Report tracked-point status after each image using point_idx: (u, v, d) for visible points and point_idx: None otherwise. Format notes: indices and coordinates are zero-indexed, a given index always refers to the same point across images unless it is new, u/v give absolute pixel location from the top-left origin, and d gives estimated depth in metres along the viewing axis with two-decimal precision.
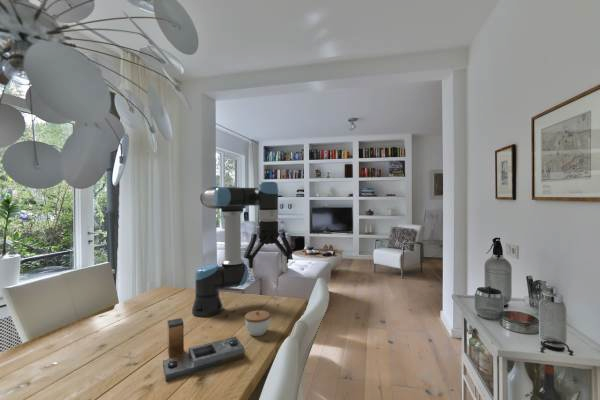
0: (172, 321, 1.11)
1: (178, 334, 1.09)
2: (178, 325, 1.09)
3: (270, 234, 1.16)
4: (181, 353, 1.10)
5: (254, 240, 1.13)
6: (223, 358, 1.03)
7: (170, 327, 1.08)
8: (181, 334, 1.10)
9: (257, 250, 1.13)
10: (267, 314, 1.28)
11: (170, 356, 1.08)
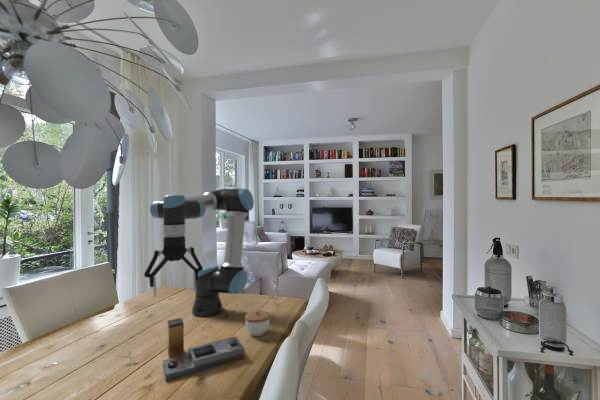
0: (172, 321, 1.11)
1: (178, 334, 1.09)
2: (178, 325, 1.09)
3: (175, 250, 1.10)
4: (181, 353, 1.10)
5: (155, 257, 1.07)
6: (223, 358, 1.03)
7: (170, 327, 1.08)
8: (181, 334, 1.10)
9: (159, 268, 1.07)
10: (267, 314, 1.28)
11: (170, 356, 1.08)
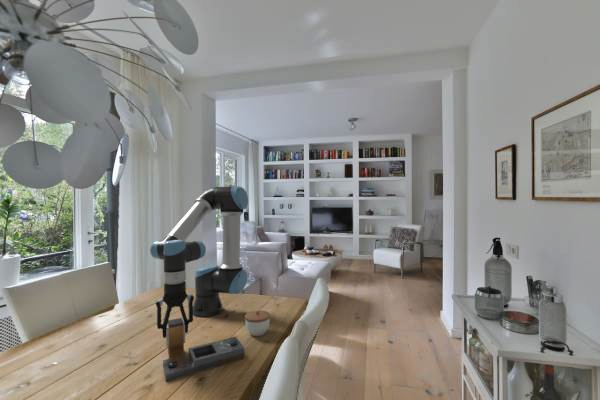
0: (172, 321, 1.11)
1: (178, 334, 1.09)
2: (178, 325, 1.09)
3: None
4: (181, 353, 1.10)
5: (159, 308, 1.07)
6: (223, 358, 1.03)
7: (170, 327, 1.08)
8: (181, 334, 1.10)
9: (167, 317, 1.08)
10: (267, 314, 1.28)
11: (170, 356, 1.08)
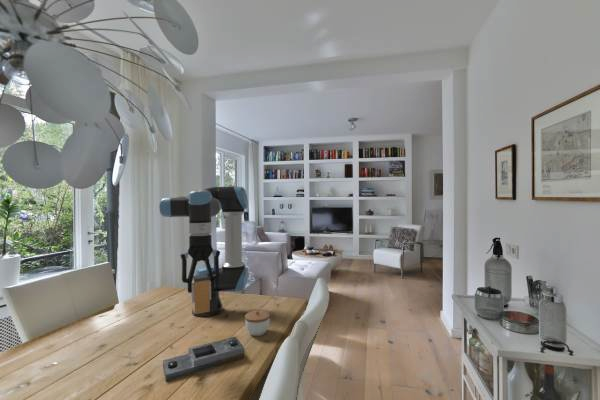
0: (197, 276, 1.05)
1: (204, 289, 1.03)
2: (204, 280, 1.03)
3: (203, 246, 1.04)
4: (207, 310, 1.03)
5: (184, 261, 1.01)
6: (223, 358, 1.03)
7: (196, 281, 1.02)
8: (207, 290, 1.03)
9: (192, 271, 1.02)
10: (267, 314, 1.28)
11: (196, 312, 1.01)
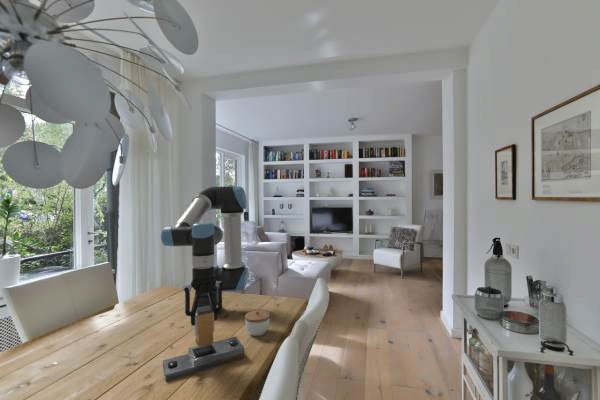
0: (200, 308, 1.05)
1: (207, 322, 1.03)
2: (207, 312, 1.03)
3: (206, 278, 1.04)
4: (210, 342, 1.03)
5: (188, 294, 1.01)
6: (223, 358, 1.03)
7: (199, 314, 1.01)
8: (210, 322, 1.03)
9: (196, 304, 1.02)
10: (267, 314, 1.28)
11: (199, 345, 1.01)
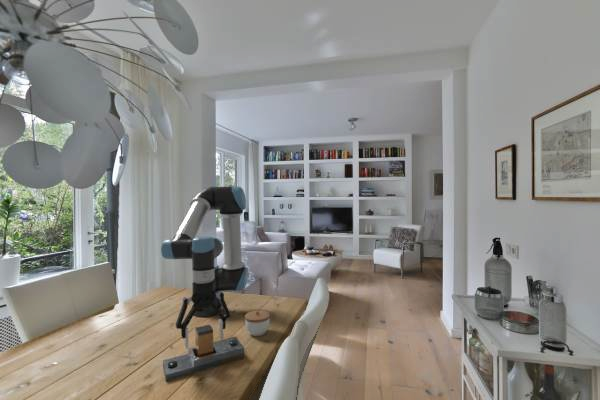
0: (201, 328, 1.05)
1: (207, 342, 1.03)
2: (208, 332, 1.03)
3: (205, 295, 1.04)
4: None
5: (185, 306, 1.00)
6: (223, 358, 1.03)
7: (199, 335, 1.01)
8: (211, 342, 1.03)
9: (190, 317, 1.01)
10: (267, 314, 1.28)
11: None
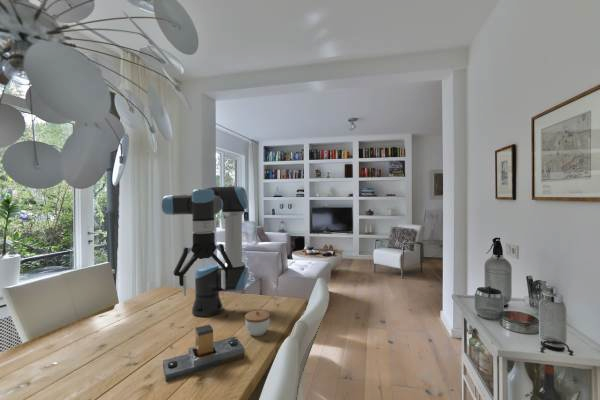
0: (201, 328, 1.05)
1: (207, 342, 1.03)
2: (208, 332, 1.03)
3: (205, 247, 1.05)
4: None
5: (185, 255, 1.01)
6: (223, 358, 1.03)
7: (199, 335, 1.01)
8: (211, 342, 1.03)
9: (188, 266, 1.02)
10: (267, 314, 1.28)
11: None
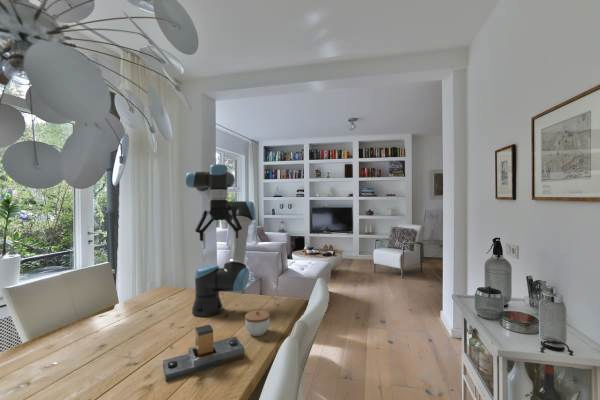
0: (201, 328, 1.05)
1: (207, 342, 1.03)
2: (208, 332, 1.03)
3: (220, 211, 1.30)
4: None
5: (204, 216, 1.27)
6: (223, 358, 1.03)
7: (199, 335, 1.01)
8: (211, 342, 1.03)
9: (207, 225, 1.28)
10: (267, 314, 1.28)
11: None
